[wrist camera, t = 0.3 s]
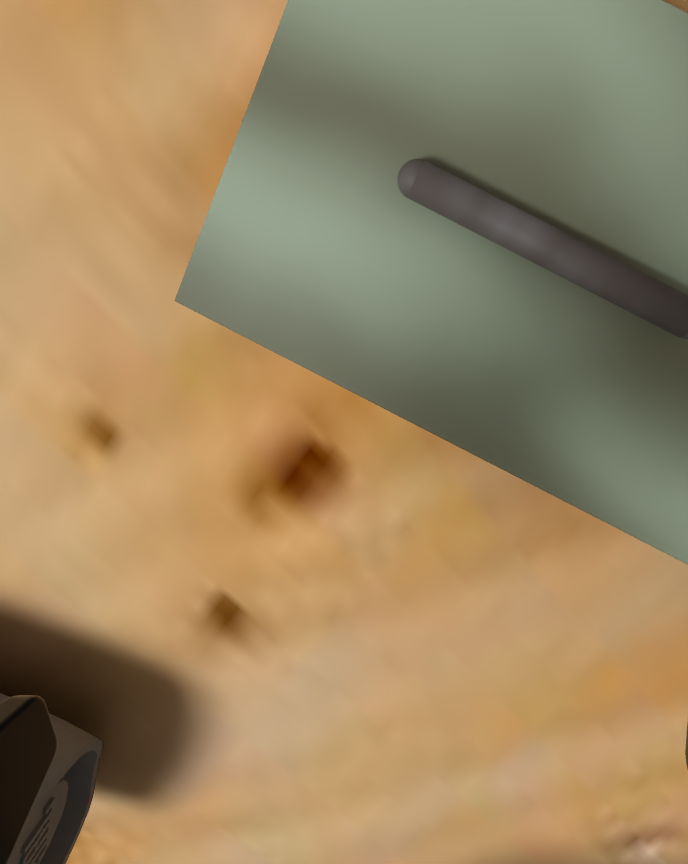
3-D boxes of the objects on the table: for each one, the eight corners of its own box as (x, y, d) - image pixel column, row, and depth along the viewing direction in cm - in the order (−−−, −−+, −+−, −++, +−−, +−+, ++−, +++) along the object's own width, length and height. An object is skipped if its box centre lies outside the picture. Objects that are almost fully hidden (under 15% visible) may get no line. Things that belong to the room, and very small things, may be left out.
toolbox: (869, 623, 22) (1001, 735, 17) (224, 292, 22) (159, 303, 17) (1144, 332, 19) (1421, 361, 13) (368, -65, 19) (342, -190, 13)
